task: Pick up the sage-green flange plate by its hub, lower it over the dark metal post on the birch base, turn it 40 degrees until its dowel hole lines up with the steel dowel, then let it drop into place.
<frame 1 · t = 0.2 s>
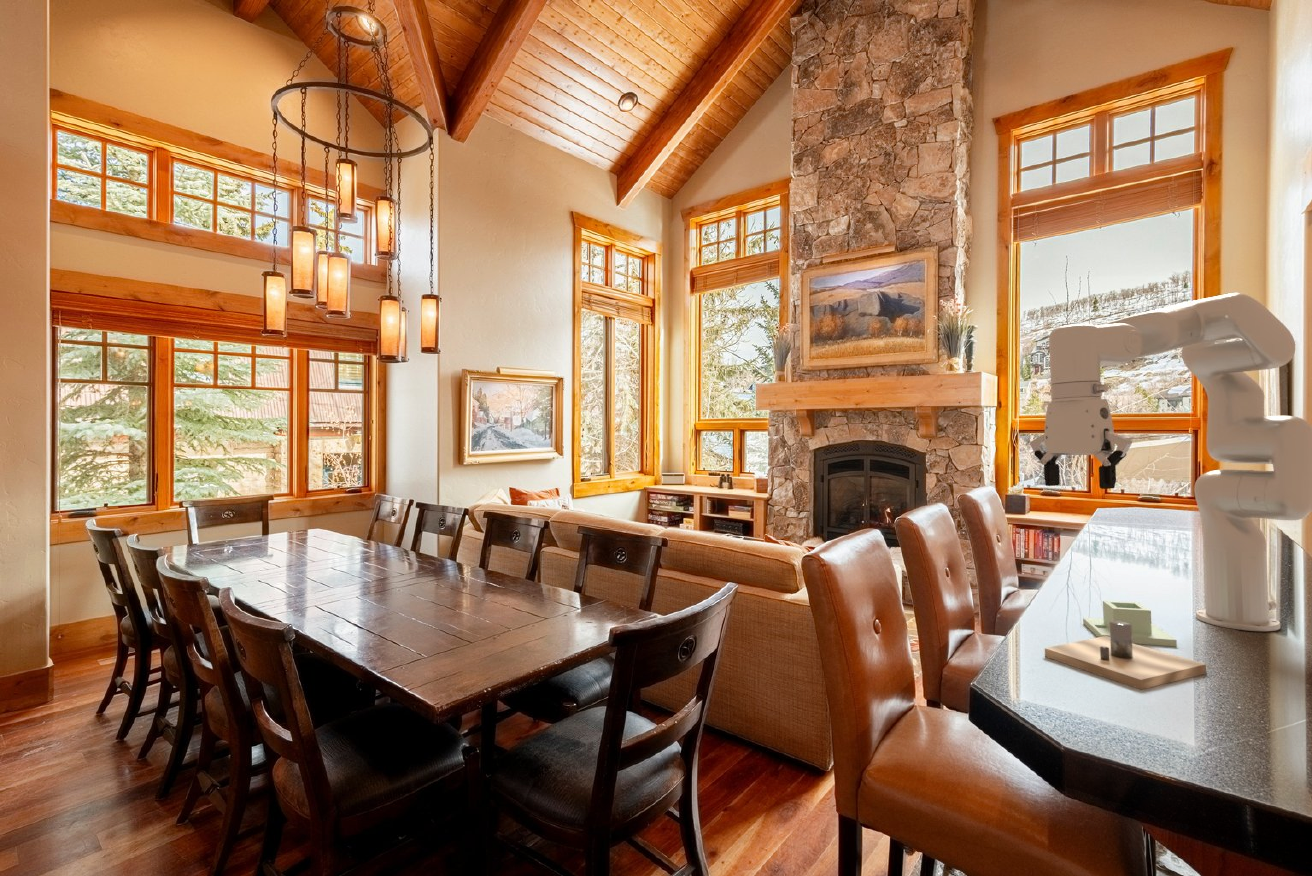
hand: (1078, 486, 111), 30 cm above the breakfast bar, tool pointing down, fingers open, 9 cm apart
flange: (1127, 634, 120), on the breakfast bar
base: (1122, 664, 105), on the breakfast bar
pins: (1114, 641, 104), on the base, point 4 cm above the breakfast bar
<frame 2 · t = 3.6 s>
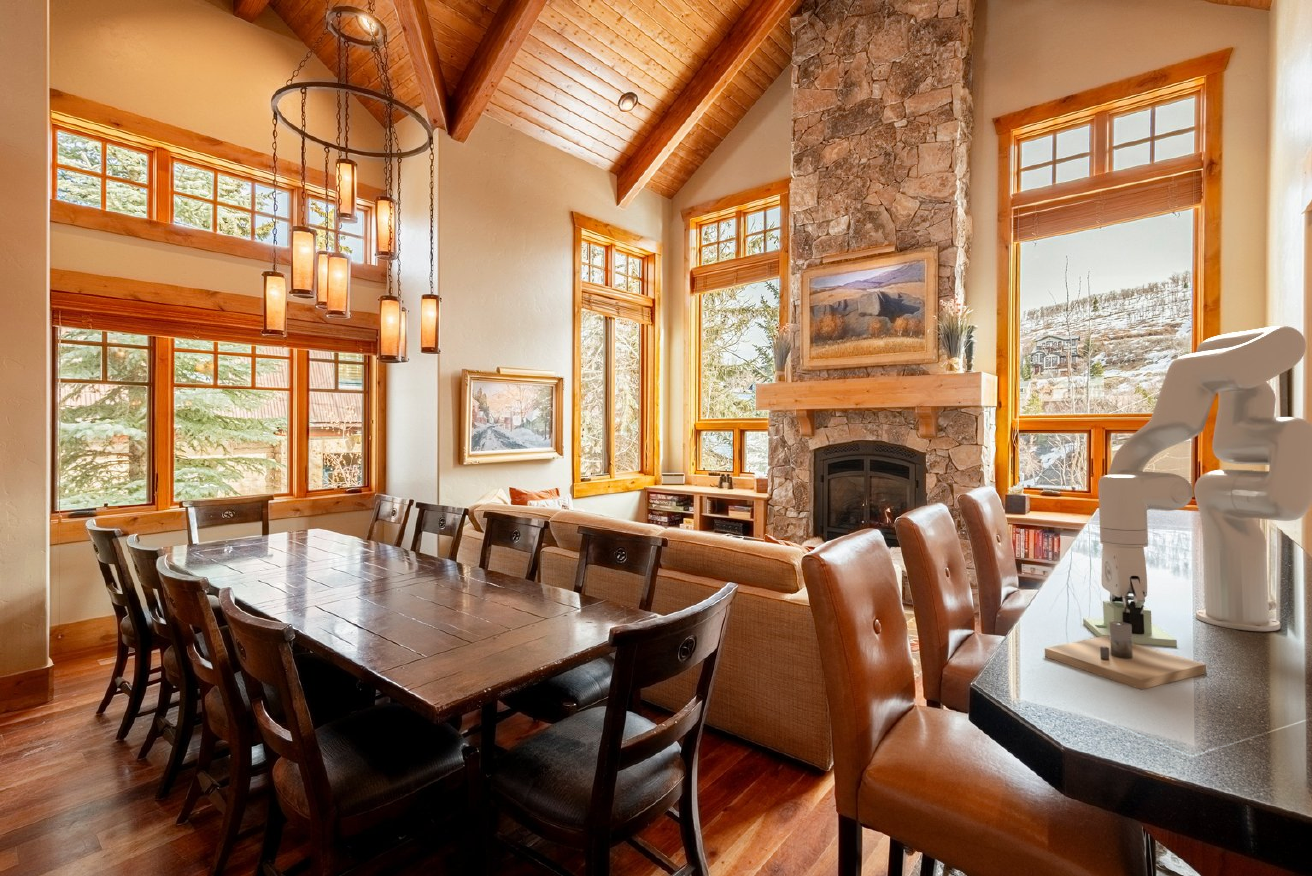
hand: (1126, 627, 120), 1 cm above the breakfast bar, tool pointing down, fingers closed on flange, 6 cm apart
flange: (1127, 634, 120), on the breakfast bar, touching gripper
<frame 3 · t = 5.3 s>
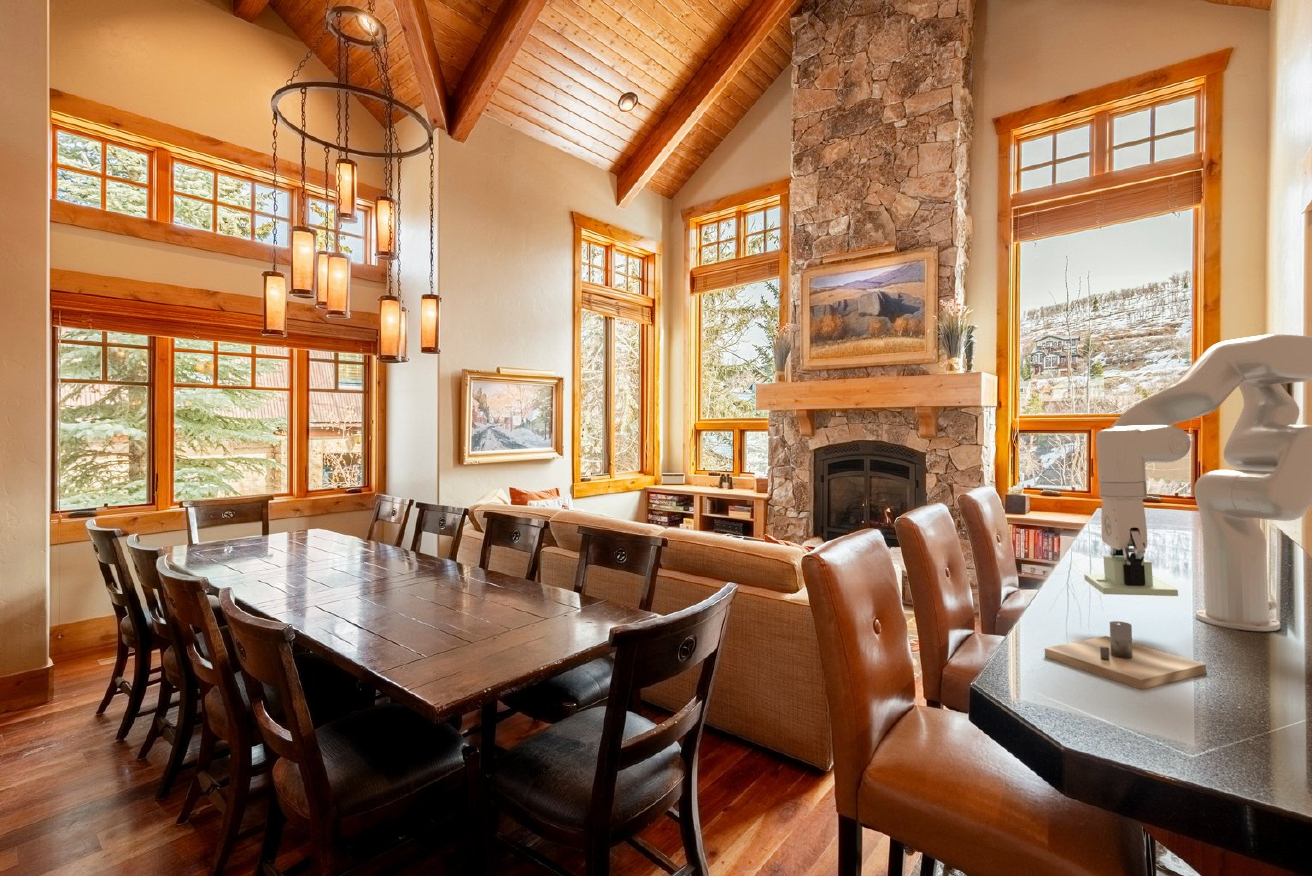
hand: (1128, 580, 120), 11 cm above the breakfast bar, tool pointing down, fingers closed on flange, 6 cm apart
flange: (1128, 587, 120), point 9 cm above the breakfast bar, touching gripper
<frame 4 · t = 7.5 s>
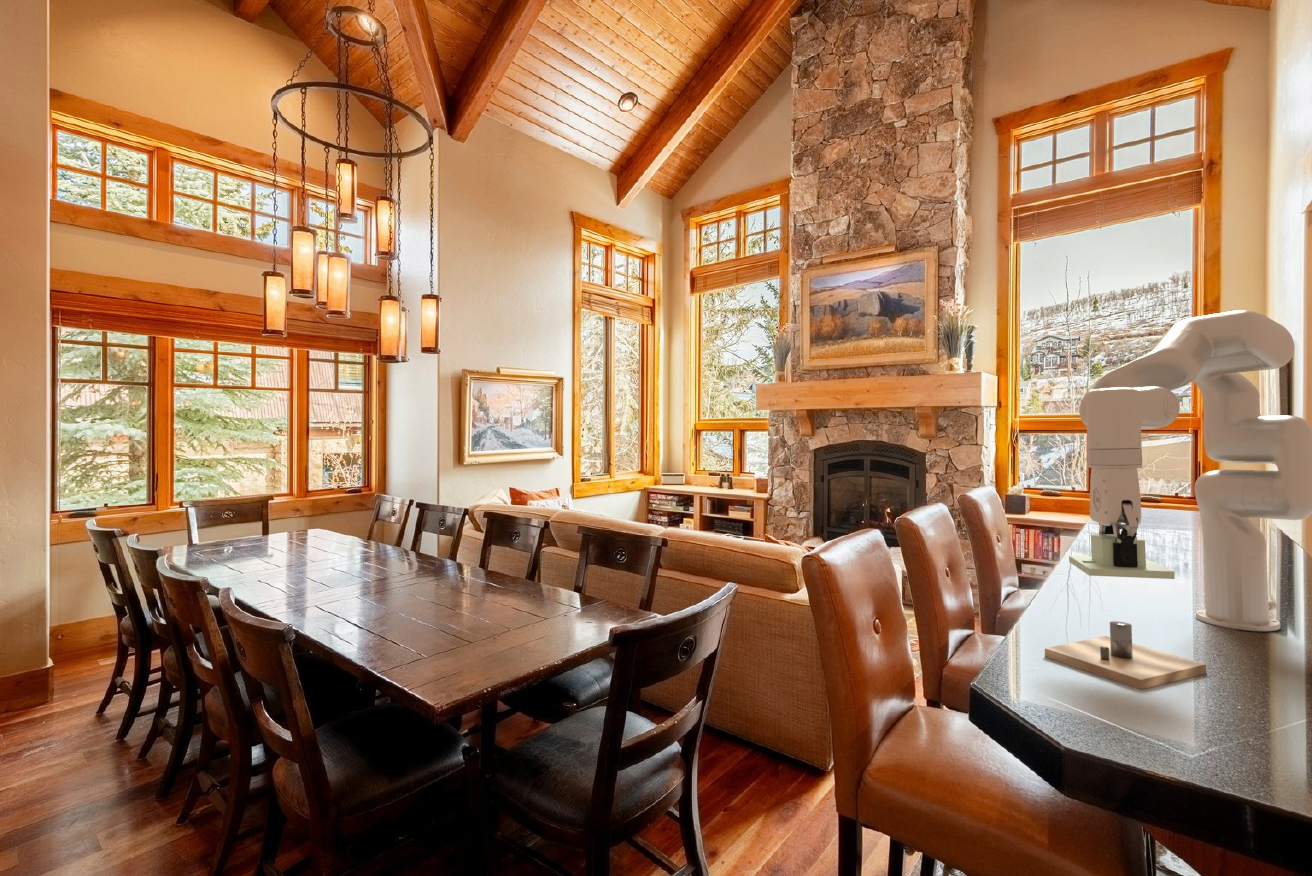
hand: (1118, 562, 105), 18 cm above the breakfast bar, tool pointing down, fingers closed on flange, 6 cm apart
flange: (1118, 570, 105), point 16 cm above the breakfast bar, touching gripper
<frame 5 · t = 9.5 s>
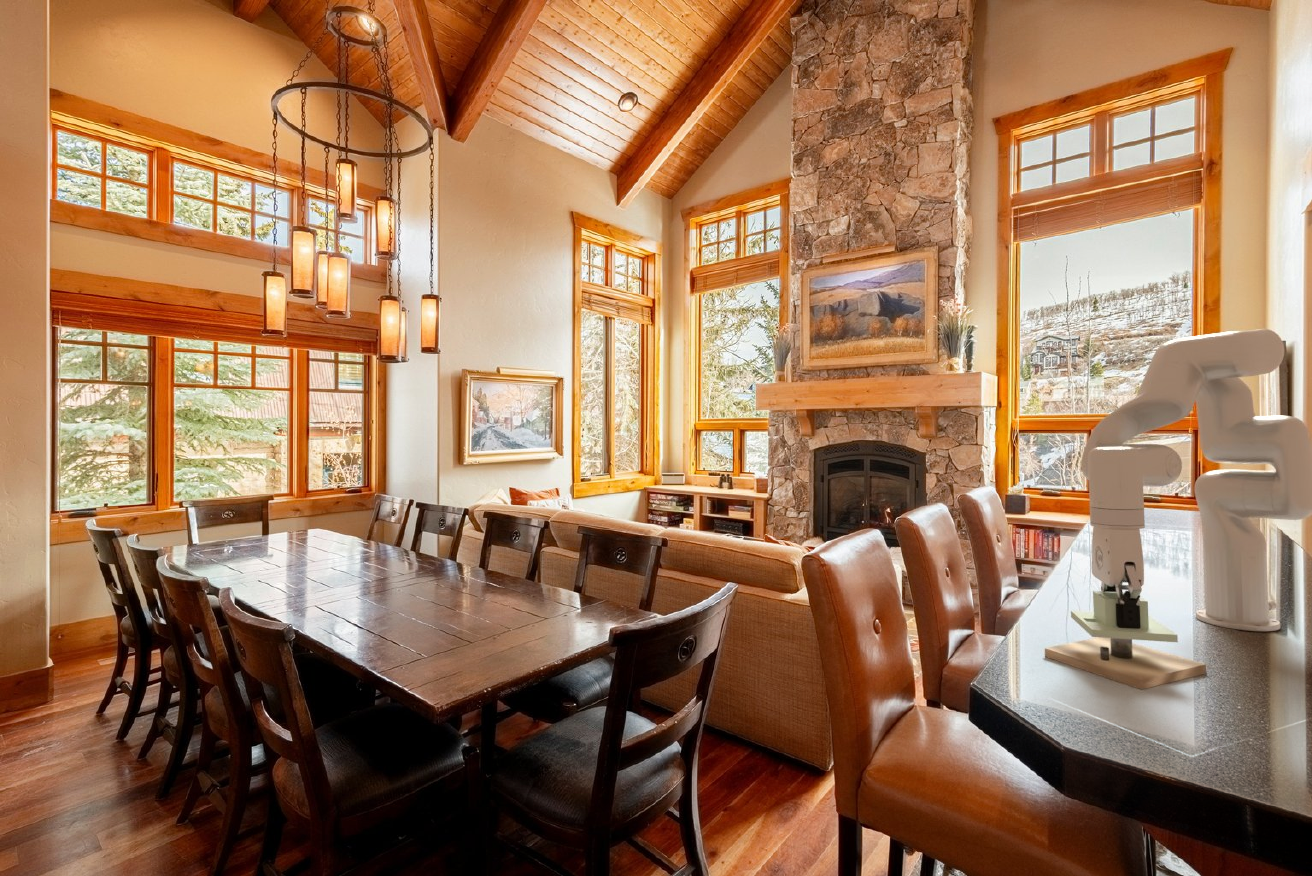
hand: (1120, 621, 105), 7 cm above the breakfast bar, tool pointing down, fingers closed on flange, 6 cm apart
flange: (1120, 628, 105), point 6 cm above the breakfast bar, touching gripper
when the fingers open (4 cm above the breakfast bar, at t = 11.4 s): flange stays where it is, resting on base.
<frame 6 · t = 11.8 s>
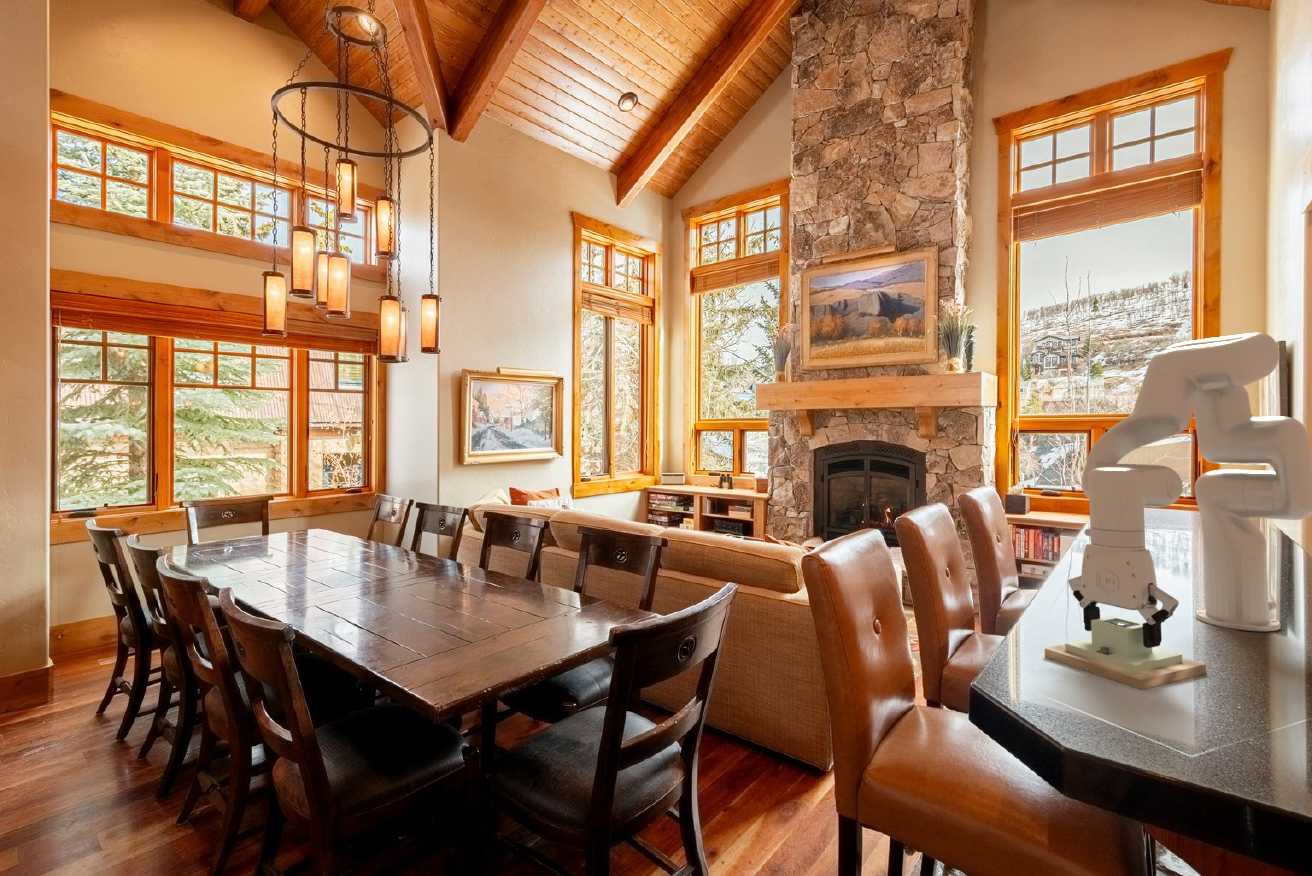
hand: (1121, 637, 105), 5 cm above the breakfast bar, tool pointing down, fingers open, 9 cm apart
flange: (1121, 655, 105), point 1 cm above the breakfast bar, touching base
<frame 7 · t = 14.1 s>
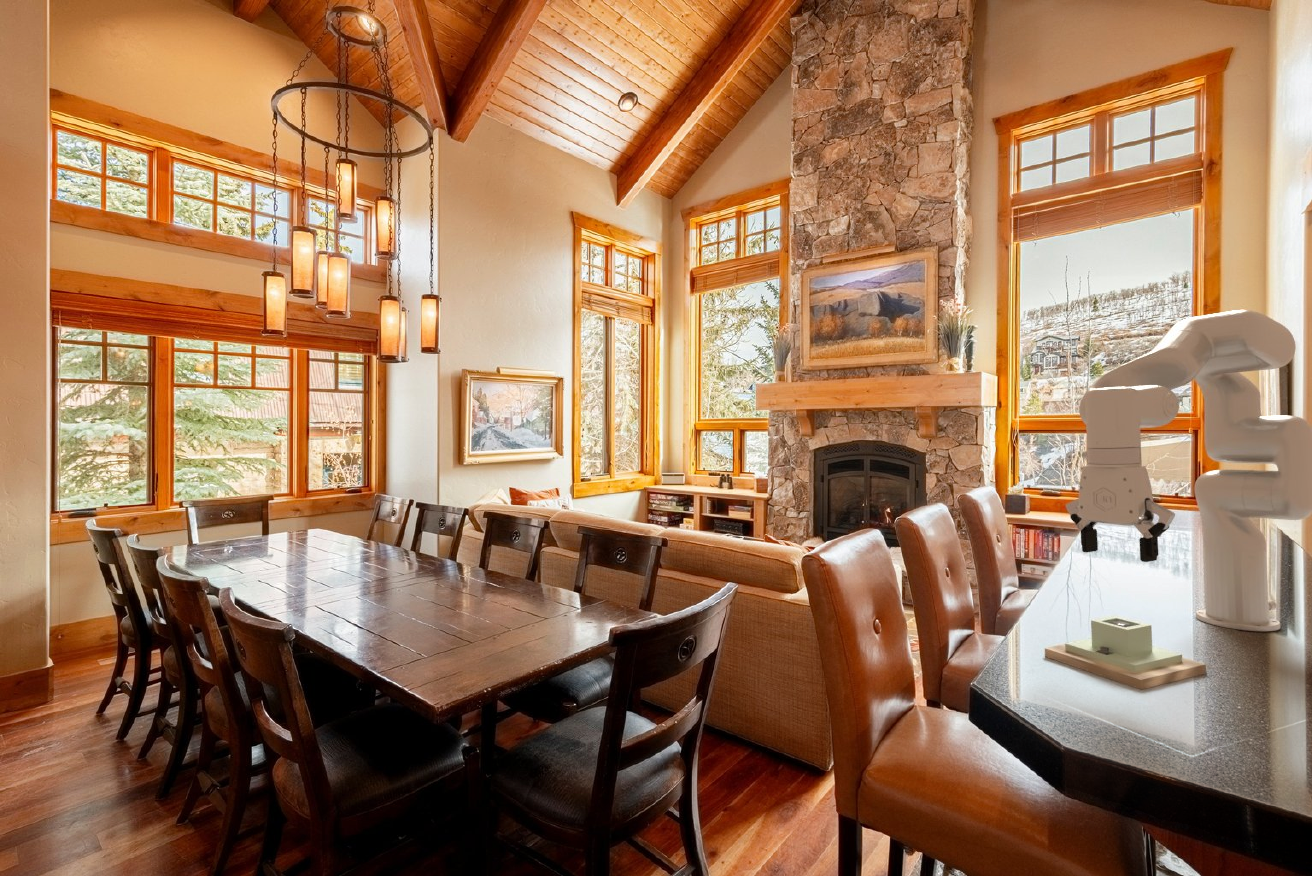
hand: (1118, 556, 106), 19 cm above the breakfast bar, tool pointing down, fingers open, 9 cm apart
nothing on the breakfast bar moved.
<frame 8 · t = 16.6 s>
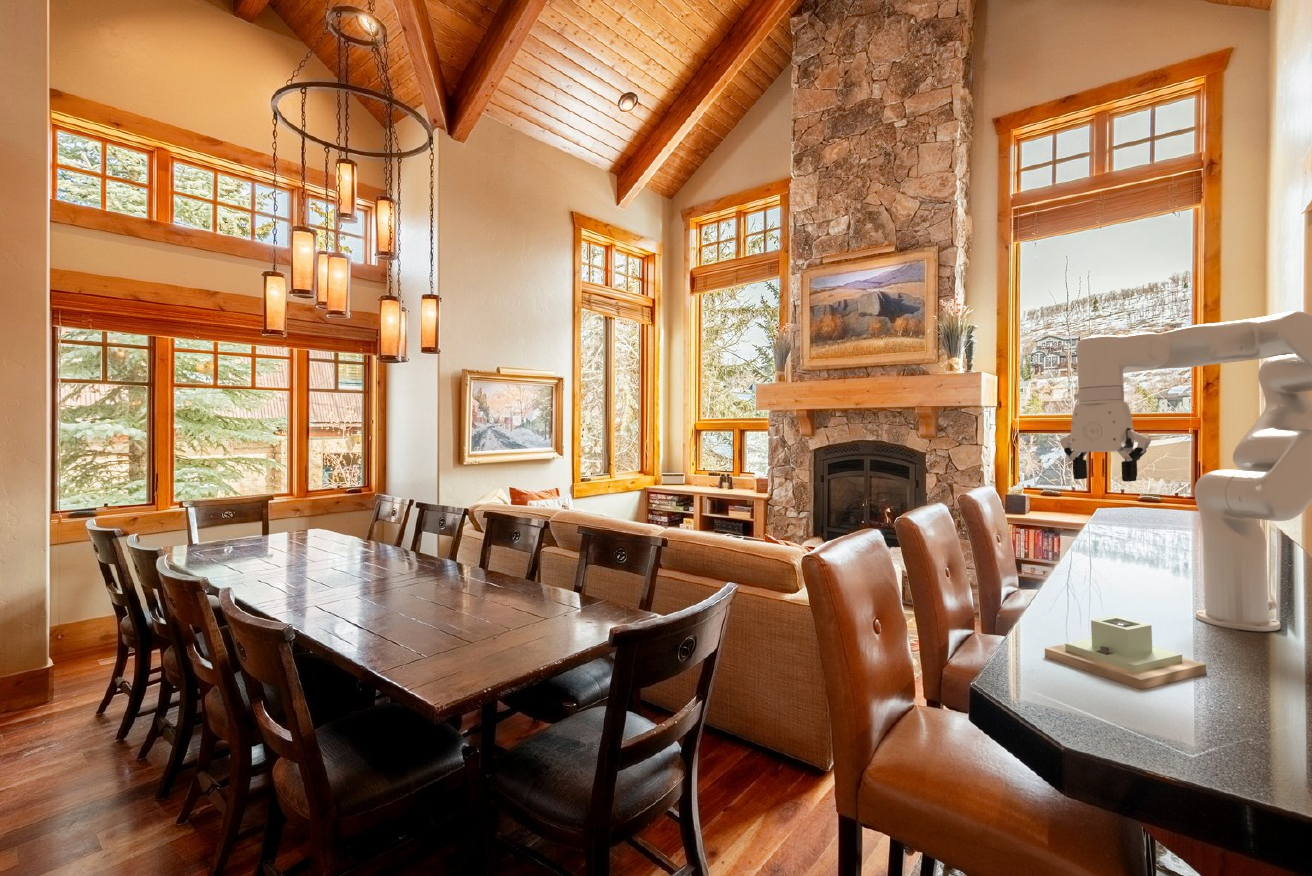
hand: (1104, 480, 124), 30 cm above the breakfast bar, tool pointing down, fingers open, 9 cm apart
nothing on the breakfast bar moved.
at the end: flange 0.1 cm from the target spot, point 1.5 cm above the breakfast bar; flange tilted 0°; the gripper is holding nothing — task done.
